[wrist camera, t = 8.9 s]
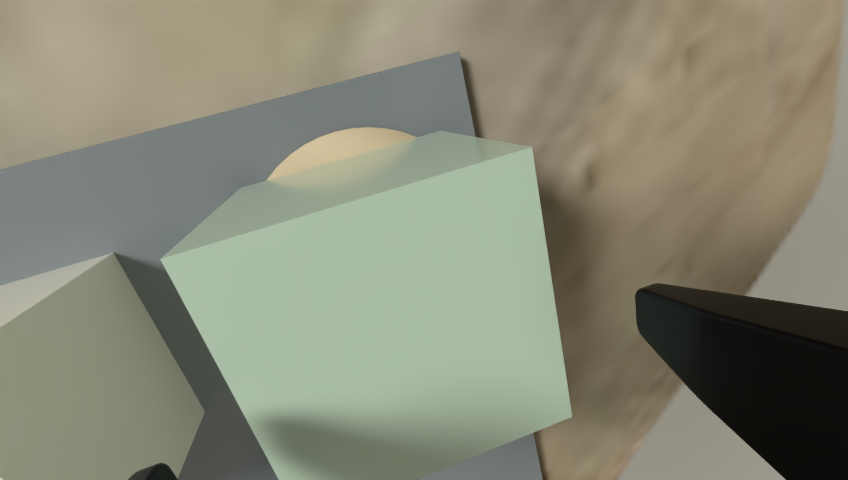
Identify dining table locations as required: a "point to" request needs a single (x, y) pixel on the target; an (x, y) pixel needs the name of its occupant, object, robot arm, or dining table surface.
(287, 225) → the frosted jade cube
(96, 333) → the ivory cube
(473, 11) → the dining table surface
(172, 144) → the slate board
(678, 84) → the dining table surface
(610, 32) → the dining table surface
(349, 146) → the tan flat disc
